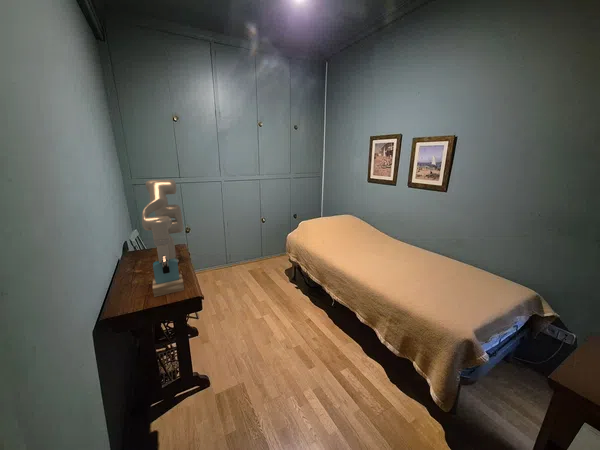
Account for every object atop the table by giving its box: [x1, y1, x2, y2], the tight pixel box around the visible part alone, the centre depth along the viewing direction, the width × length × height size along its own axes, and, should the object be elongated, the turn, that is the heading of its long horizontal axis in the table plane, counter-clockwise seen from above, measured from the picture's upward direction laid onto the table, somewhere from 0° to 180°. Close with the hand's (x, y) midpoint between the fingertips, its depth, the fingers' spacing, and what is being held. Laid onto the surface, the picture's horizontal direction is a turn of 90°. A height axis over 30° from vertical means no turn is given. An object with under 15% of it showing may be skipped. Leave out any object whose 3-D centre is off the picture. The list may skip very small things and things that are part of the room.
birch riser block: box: [152, 272, 185, 298], centre depth 137 cm, size 13×15×5 cm
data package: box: [152, 258, 180, 284], centre depth 135 cm, size 12×4×12 cm, turn 121°
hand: (166, 269), depth 135 cm, fingers open, 9 cm apart
